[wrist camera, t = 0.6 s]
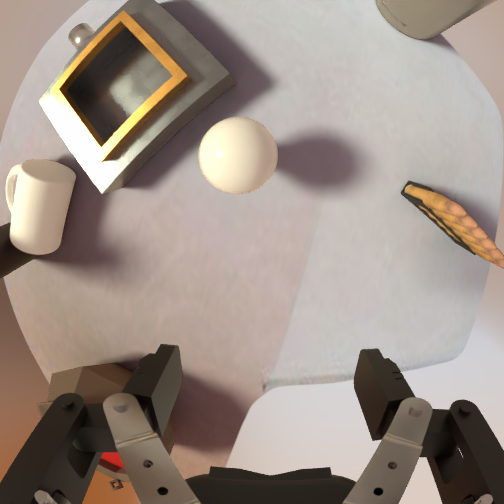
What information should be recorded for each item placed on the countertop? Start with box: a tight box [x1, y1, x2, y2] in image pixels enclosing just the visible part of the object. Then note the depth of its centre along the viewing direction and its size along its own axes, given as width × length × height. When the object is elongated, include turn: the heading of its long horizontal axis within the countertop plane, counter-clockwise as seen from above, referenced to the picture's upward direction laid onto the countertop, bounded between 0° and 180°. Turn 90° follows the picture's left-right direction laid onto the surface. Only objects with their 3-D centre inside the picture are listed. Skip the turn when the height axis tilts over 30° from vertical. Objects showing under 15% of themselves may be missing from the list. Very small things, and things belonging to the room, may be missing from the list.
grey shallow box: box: [39, 0, 236, 194], centre depth 26 cm, size 18×20×6 cm
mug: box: [6, 159, 76, 255], centre depth 30 cm, size 12×10×8 cm
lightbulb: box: [199, 117, 278, 194], centre depth 25 cm, size 6×6×11 cm
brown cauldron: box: [37, 363, 177, 491], centre depth 37 cm, size 24×24×16 cm
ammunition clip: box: [401, 181, 504, 268], centre depth 25 cm, size 11×2×12 cm, turn 59°
